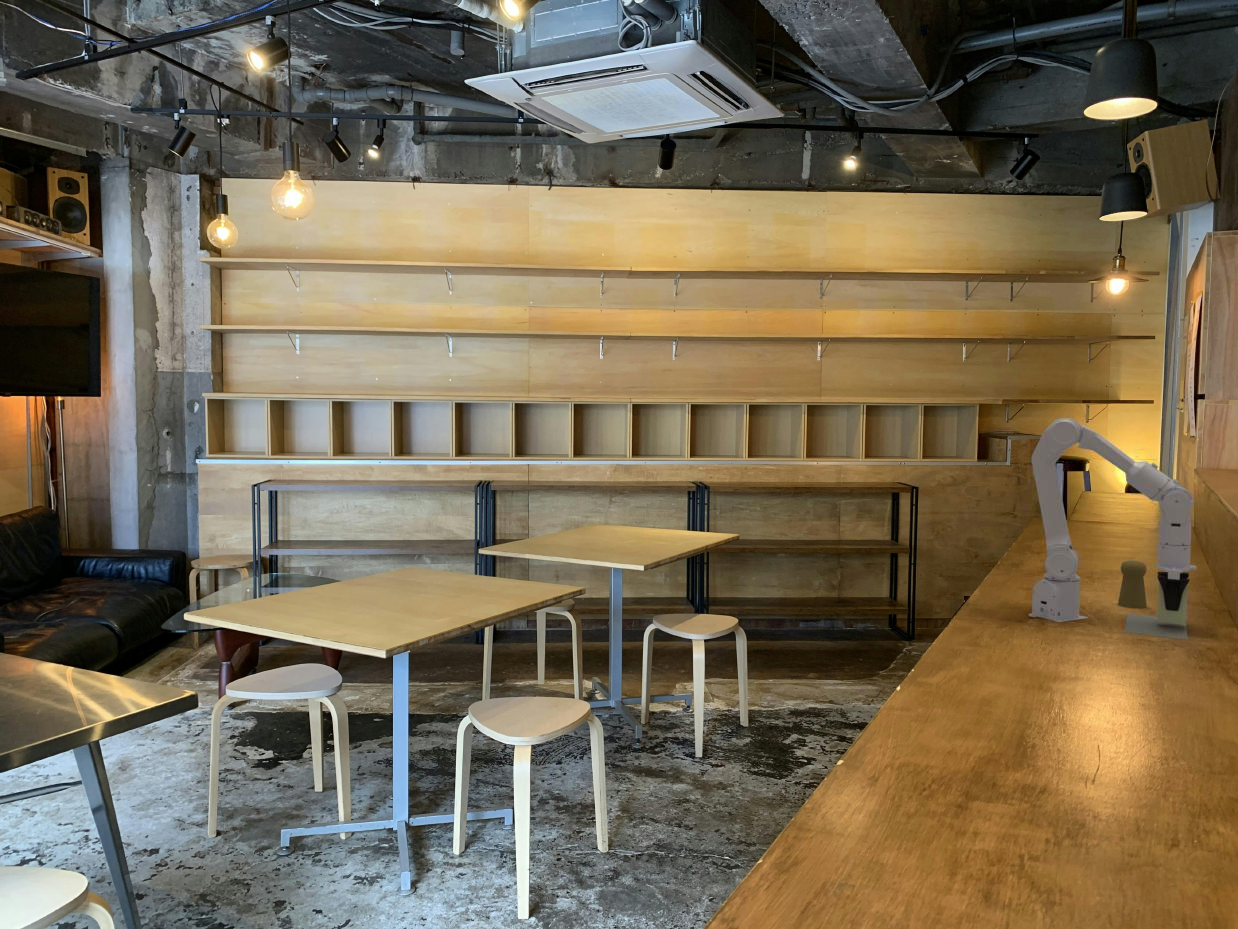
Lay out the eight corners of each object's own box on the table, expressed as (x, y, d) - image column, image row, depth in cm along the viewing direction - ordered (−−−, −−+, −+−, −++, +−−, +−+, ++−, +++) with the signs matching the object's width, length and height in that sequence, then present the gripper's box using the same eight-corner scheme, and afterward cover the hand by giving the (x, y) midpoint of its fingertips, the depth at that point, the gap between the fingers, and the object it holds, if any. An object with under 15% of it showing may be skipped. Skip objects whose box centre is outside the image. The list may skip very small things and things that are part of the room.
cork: (1139, 605, 210) (1141, 559, 209) (1152, 611, 204) (1154, 563, 203) (1112, 605, 210) (1114, 559, 210) (1124, 610, 204) (1126, 563, 204)
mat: (1187, 642, 176) (1187, 639, 176) (1123, 635, 182) (1124, 632, 182) (1185, 622, 193) (1185, 619, 193) (1127, 616, 199) (1127, 613, 199)
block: (1185, 624, 183) (1187, 586, 183) (1157, 621, 186) (1159, 584, 186) (1185, 621, 187) (1186, 583, 186) (1157, 618, 189) (1159, 580, 189)
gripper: (1198, 549, 177) (1195, 617, 178) (1196, 541, 190) (1193, 604, 190) (1157, 547, 181) (1154, 613, 182) (1157, 538, 193) (1155, 600, 194)
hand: (1172, 608), depth 186 cm, fingers closed on block, 4 cm apart
